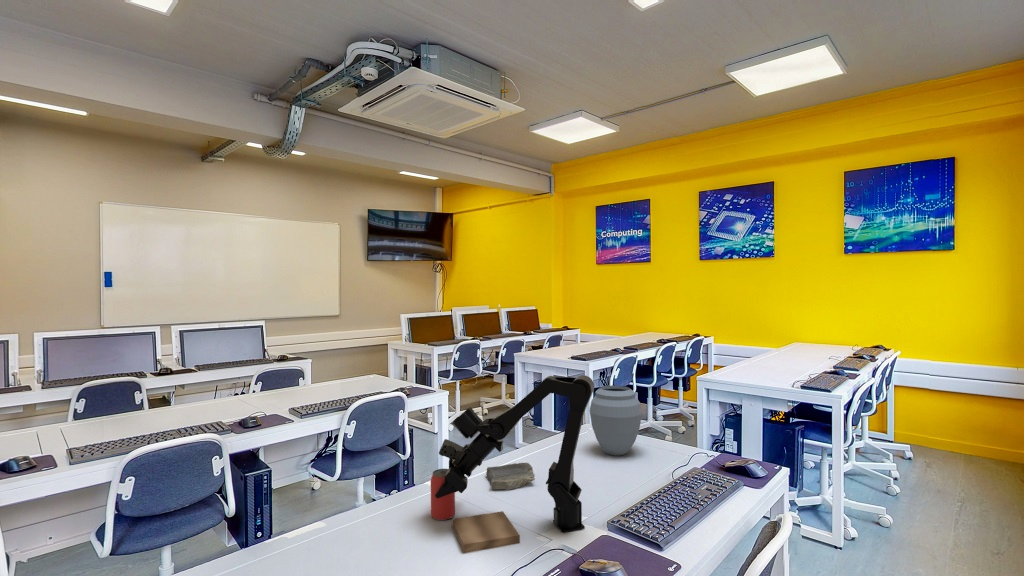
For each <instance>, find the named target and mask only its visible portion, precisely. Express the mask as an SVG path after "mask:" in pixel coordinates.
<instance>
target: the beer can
mask: <svg viewBox="0 0 1024 576" xmlns="http://www.w3.org/2000/svg"><path fill="white" fill-rule="evenodd" d="M448 470H449V468H438V469H435V470H433V471H432V476H431V478H430V516H431V518H433V519H435V520H438V521H446V520H450V519H453V517H454V516H455V513H456V492H454V493H451V494H448V495H446V496H443V497H440V498H436V497H435V494H436V493H437V491H438V490H439V488H440V487H441V485H442V484H443V483H444V481H445V477H444V476H445V472H447V471H448Z"/></svg>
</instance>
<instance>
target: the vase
mask: <svg viewBox="0 0 1024 576" xmlns="http://www.w3.org/2000/svg"><path fill="white" fill-rule="evenodd" d="M642 415H643V412H642V407H641V402H640V401H639V399H638V398H637V397H636V392H635V391H634V390H632V389H631V387H628V386H624V385H604V386H601V387H599V388H598V389H597V390H596V391H595V396H594V397H593V398H592V399H591V402H590V406H589V416H590V422H591V427H592V430H593V433H594V436H595V439H596V440H597V442H598V444H599V446H600V448H601V449H602V450H603V452H605V454H608V455H610V454H612V455H611V456H616V455H619V456H624V455H626V454H628V452H629V451H631V449H632V447H633V446H634V444H635V442H636V440H637V437H638V434H639V431H640V428H641V423H642V422H641V421H642Z"/></svg>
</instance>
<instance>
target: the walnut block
mask: <svg viewBox="0 0 1024 576" xmlns="http://www.w3.org/2000/svg"><path fill="white" fill-rule="evenodd" d="M451 528H452V530H453V532H454V534H455V536H456V538H457V539H456V540H457V541H458V543H459V545H460V548H461V550H462V552H463V554H467V553H474V552H479V551H484V550H490V549H495V548H501V547H507V546H511V545H512V546H513V545H517V544H521V535H520V533H519V532H518V531H517V528H515V526H514V525H513V524H512V521H510V519H509V517H508V516H507V515H506V514H505V512H504V511H503V510H502V511H495V512H489V513H481V514H476V515H470V516H463V517H457V518H451Z"/></svg>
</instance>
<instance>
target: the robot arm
mask: <svg viewBox="0 0 1024 576" xmlns="http://www.w3.org/2000/svg"><path fill="white" fill-rule="evenodd" d="M594 390H595V382H594V381H593V378H591V377H590V376H588V375H585V374H584V375H583V374H582V375H578V376H576V377H573V376H554V375H548V376H547V377H545V378H544V379H543V380H541V382H540V384H538V385H537V386H536V387H535V388H534V389H533V390H532V391H530V392H529V393H528V394H527V395H526V396H524V397H523V398H522V399H521V400H520V401H519V402H517V403H516V404H515V405H514V406H512V407H510V408H508V409H507V410H505V411H503V412H500V414H498V415H497V416H495V417H491V418H485V419H484V420H482V418H481V417H479V415H478V414H477V413H476V412H475V410H474V409H473V408H472V407H471V406H469V407H468V408H466V409H465V411H464V412H462V413H461V414H460V415H459V416H457V417H456V418H455V419H454V420H453V422H452V426H453V427H454V428H456V430H457V431H458V432H459V433H460V434H461V435H462V436H463V437H464V439H469V438H470V439H473V437H475V436H476V435H477V436H476V437H475V438H474V439H473V440H472V441H471V442H470V443H467V444H465V445H463V446H461V445H460V444H458V443H456V442H453V441H452V440H451V439H447V438H445V439H444V440H443V441H442V444H441V446H440V449H439V451H438V454H439V455H440V456H441V457H446V458H448V459H449V460H448V469H449V470H448V471H447V472H445V476H444V477H445V481H444V483H443V484H442V485H441V487H440V488H439V490H438V491H437V493H436V494H435V497H436V498H440V497H443V496H446V495H448V494H451V493H454V492H455V493H457V492H458V493H460V494H463V492H464V491H465V490H467V488H468V482H469V481H468V480H469V479H468V478H470V477H471V475H472V472H473V471H474V470H475V469H476V468H477V467H481V465H482V464H483V461H484V460H485V459H486V458H487V457H488V456H489V455H490V454H491V453H492V452H493V451H494V450H495V449H496V450H497V451H498V452H499V453H502V451H503V450H504V445H503V444H504V440H503V439H505V438H506V437H507V436H508V435H509V434H510V433H511V432H512V431H513V429H515V428H516V426H517V425H518V423H519V422H520V421H521V420H522V418H523V417H524V416H525V415H527V413H529V412H530V411H531V410H533V408H535V407H536V406H537V405H539V403H541V402H542V401H543V400H544V399H546V397H548V396H549V395H550V394H554V395H559V396H562V397H567V398H568V416H567V419H566V425H565V429H564V432H563V437H562V443H561V445H560V446H561V447H560V452H559V457H558V460H557V462H555V461H553V462H552V464H551V465H550V467H549V469H548V477H547V480H546V481H545V485H547V488H546V489H547V493H548V494H549V495H550V497H551V498H552V499H553V501H554V507H553V519H552V523H553V524H554V525H555V526H556V527H557V528H558V529H559V531H560V532H561V533H568V532H573V531H579V530H584V529H585V528H586V527H585V525H584V524H583V516H582V515H583V514H582V512H583V510H582V503H583V502H582V501H581V500H580V499H579V498H580V496H581V493H582V490H583V489H582V488H581V487H580V486H579V485H578V483H576V481H575V480H574V477H575V475H574V473H575V472H574V471H575V469H574V460H575V455H576V452H577V447H578V442H579V437H580V433H581V429H582V425H583V419H584V416H585V415H584V414H585V411H586V409H587V407H588V406H589V405H588V404H589V402H590V400H591V398H592V395H593V393H594ZM478 433H479V434H478Z"/></svg>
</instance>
